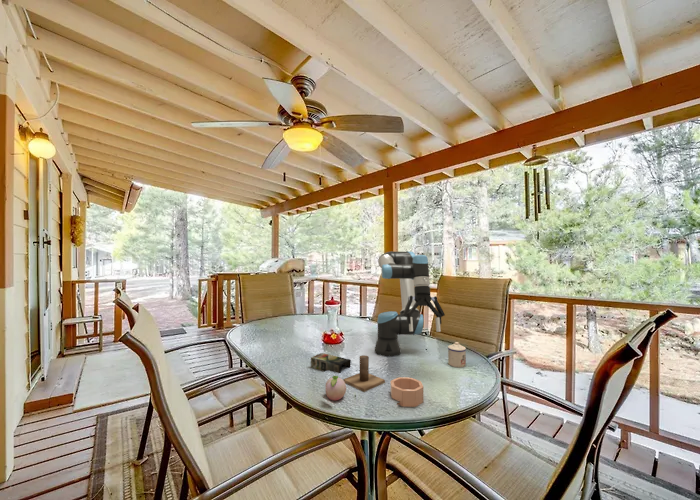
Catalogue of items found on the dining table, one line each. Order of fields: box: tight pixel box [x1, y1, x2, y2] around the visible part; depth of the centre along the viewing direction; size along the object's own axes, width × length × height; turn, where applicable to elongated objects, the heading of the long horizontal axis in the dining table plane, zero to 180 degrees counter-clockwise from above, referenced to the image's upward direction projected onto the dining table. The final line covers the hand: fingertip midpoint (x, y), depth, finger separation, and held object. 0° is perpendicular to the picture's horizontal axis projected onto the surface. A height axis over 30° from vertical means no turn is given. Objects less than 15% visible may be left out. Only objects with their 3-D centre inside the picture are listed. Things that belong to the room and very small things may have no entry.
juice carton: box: [310, 352, 352, 374], centre depth 153 cm, size 20×10×6 cm, turn 55°
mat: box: [345, 381, 387, 393], centre depth 133 cm, size 14×14×2 cm
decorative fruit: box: [325, 375, 347, 401], centre depth 120 cm, size 9×8×10 cm
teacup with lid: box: [447, 341, 467, 368], centre depth 160 cm, size 12×9×12 cm
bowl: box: [390, 376, 424, 408], centre depth 121 cm, size 12×12×6 cm
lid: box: [342, 354, 386, 393], centre depth 133 cm, size 13×13×11 cm
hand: (425, 331), depth 141 cm, fingers open, 13 cm apart
